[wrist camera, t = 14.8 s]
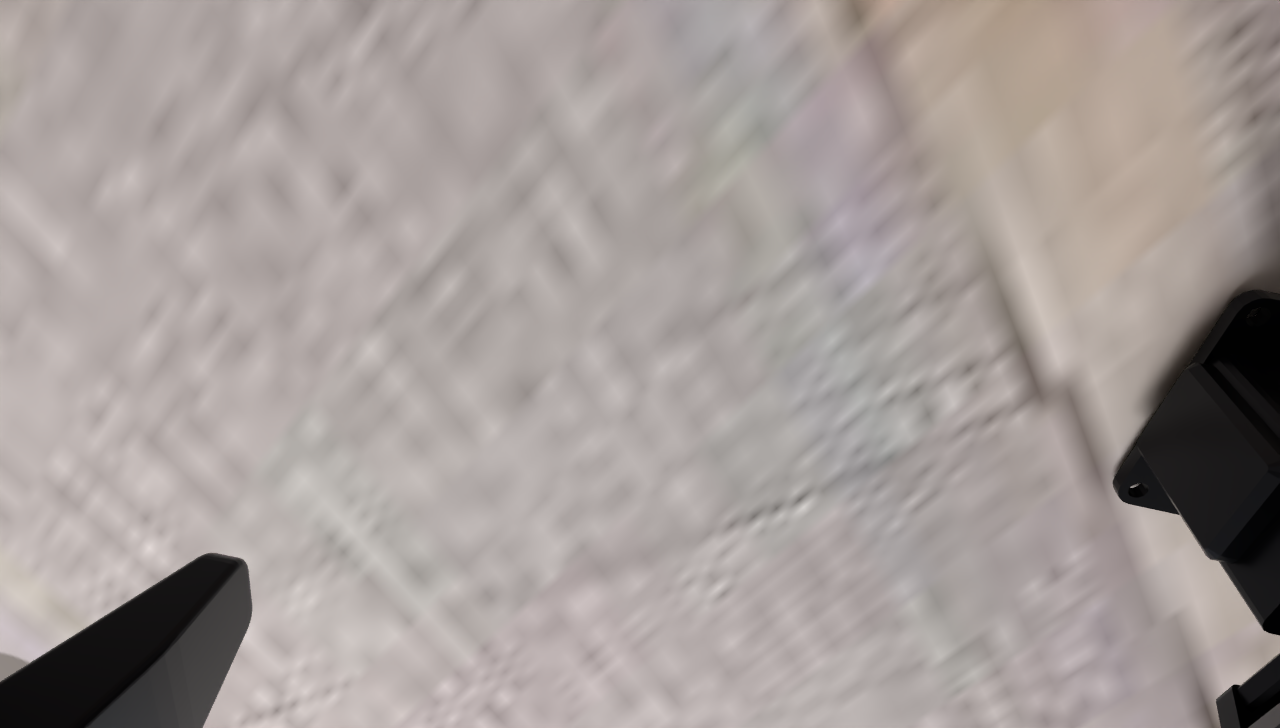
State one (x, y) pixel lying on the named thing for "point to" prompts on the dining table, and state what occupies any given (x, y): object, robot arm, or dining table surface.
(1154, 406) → the dining table surface
